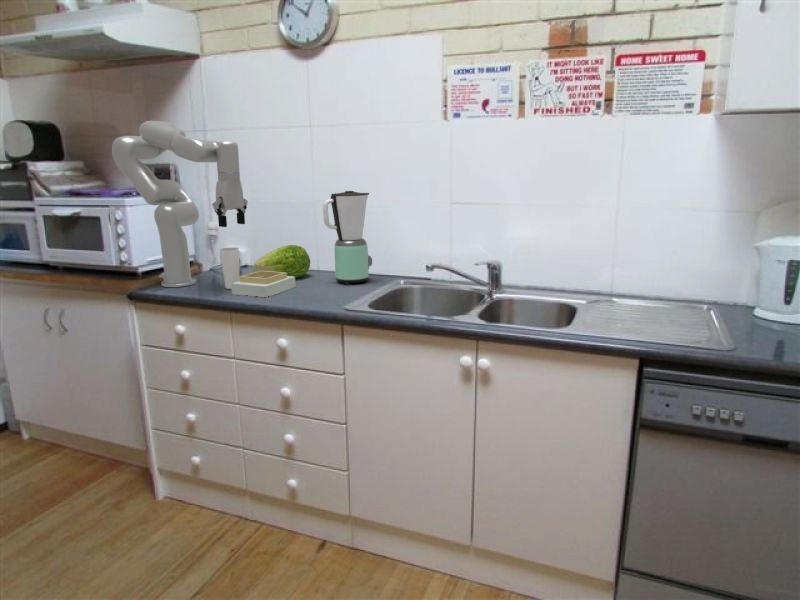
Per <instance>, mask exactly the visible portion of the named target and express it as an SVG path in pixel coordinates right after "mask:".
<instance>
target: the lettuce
mask: <svg viewBox="0 0 800 600" xmlns="http://www.w3.org/2000/svg"><path fill="white" fill-rule="evenodd" d="M252 267H253V269H254V270H255V272H257V271H273V272H285V273H287V276H294V277H295V279H299V278H300V277H301V276H304V275H306V274H307V273H308V272H309V269H310V267H311V259H310V255H309V253H308V252H307V251H306V249H305V248H304V247H302V246H299V245H296V244H289V245H285V246H281V247H278V248H276V249H273V250H271V251H270V252H267V253H266V254H264V255H262V256H261V257H260V258H258V259H257V260H256V261H255V262H254V263H253V266H252Z"/></svg>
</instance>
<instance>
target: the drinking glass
mask: <svg viewBox="0 0 800 600" xmlns="http://www.w3.org/2000/svg"><path fill="white" fill-rule="evenodd" d="M219 255H220V258H219V259H220V264H221V268H222V274H223V279H224V287H225V289H227V290H232V287H231V283H234V282H237V281H240V276H241V274H240V273H241V272H240V271H241V270H240V269H241V268H240V267H241V263H240V262H241V261H240V251H239V248H238V247H223V248H220V249H219Z"/></svg>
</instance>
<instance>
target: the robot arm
mask: <svg viewBox="0 0 800 600" xmlns="http://www.w3.org/2000/svg"><path fill="white" fill-rule="evenodd" d="M138 131H139V132H138V134H139V135H140V136H139V135H122V136H118V137H117V138H115V139H114V141H112V145H111V155H112V158H113V161H114V163H115V165H116V166H117V167H118V169H119V170H120V171H121V172H122V173H123V175H124V176H125V177H126V178H127V179H128V180H129V181H130V183H131V184H132V186H133V187H134V188H135V189H136V191H137V192H138V194H139V195H140V197H142V199H143V200H144V201H145V202H146V204H148V205H150V206H157V207H156V208H155V209H154V213H153V214H154V215H153V217H154V221H155V222H154V223H156V224H155V225H156V227H157V231H158V234H159V242H160V243H159V244H160V248H161V249H160V250H161V257H162V264H163V272H161V273H160V274H159V275H158V278H160V279H163V281H161V283H160V284H161V287H164V288H180V287H187V286H192V285H195V284H196V282H197V281H196V278H193V277H192V273H191V266H190V263H191V262H190V254H189V247H188V246H189V245H188V239H187V235H186V233H185V231H184V229H183V227H186V226H187V227H188V226H191V225H193V224H196V223H197V222H198V220H199V216H200V214H199V210H198V207H197V205H196V204H195V203H194V202H193V201H194V200H192V198H191V197H190V196H189V194H188V193H187V192H186V191H185V190H184V188H183V187H182V186H181V185H180V183H178V182H177V181H175V180H172V179H159V178H158V177H157V176H155V174H154V173H153V171H152V170H151V169H150V168H149V166H147V165H146V164H144V163H143V162H142V161H140V160H151V159H152V160H153V159H156V158H158V157H159V156H161V155H163V154H164V153H165V152H166V151H170V152H172V153H173V154H174V155H175V156H177V157H179V158H182V159H185V160H188V161H190V162H194V163H216V168H217V181H216V184H215V200H214V202H213V203H212V208H213V211H214V212H215V214H216V215H217V218H218V227H220V228H227V226H228V221H227V220H228V219H227V215H226V213H227V211H228V210H229V211H231V210H235V211H236V223H237V225H245V224H246V219H245V218H246V217H245V216H246V215H245V213H246V212H247V211H246V210H247V209H248V207H247V206H248V202H249V201H248V200H247V199H246V198H244V193H243V185H242V181H241V175H240V174H241V172H240V159H239V158H240V157H239V155H240V154H239V145H238V144H237V142H236V141H226V140H225V141H224V140H223V141H221V140H220V141H217V140H206V139H204V140H203V139H194V138H191V137H188V136H187V135H186V133H185V131H183V129H180V128H177V126H176V125H174V124H173V123H172V122H169V121H162V120H147V121H144V122H142V123H141V124H140V126H139V129H138Z"/></svg>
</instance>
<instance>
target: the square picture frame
mask: <svg viewBox="0 0 800 600" xmlns="http://www.w3.org/2000/svg"><path fill="white" fill-rule="evenodd" d="M296 285H297V284H296V278H295V277H294V276H287V273H285V272H273V271H253V272H249V273H246V274H244V275H240V281H237V282H234V283H231V287H232V289H231V294H232V295H237V296H245V295H248V296H247V297H255V296H258V298H264V297H267V298H269V297H272V296H274V295H277V294H279V293H283V292H285V291H288V290H291V289H294V288H296V287H297V286H296ZM268 296H269V297H268Z"/></svg>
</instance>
